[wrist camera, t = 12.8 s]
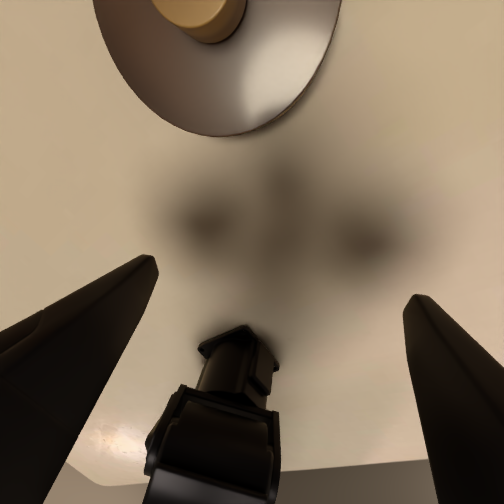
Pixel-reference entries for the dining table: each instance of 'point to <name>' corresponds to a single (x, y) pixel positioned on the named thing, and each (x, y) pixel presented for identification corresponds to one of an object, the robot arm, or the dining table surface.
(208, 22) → the crank handle
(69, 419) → the robot arm
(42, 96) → the dining table surface
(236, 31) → the crank base
